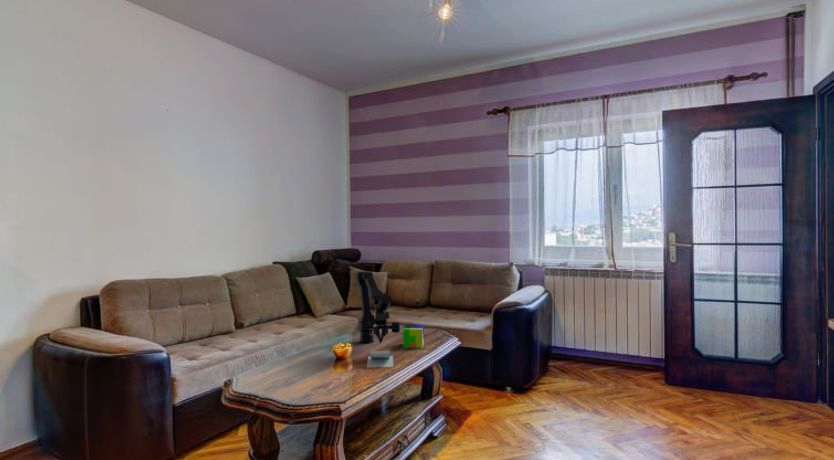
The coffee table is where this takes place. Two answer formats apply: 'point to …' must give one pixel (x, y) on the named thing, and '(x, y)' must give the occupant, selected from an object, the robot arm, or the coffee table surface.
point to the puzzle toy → (413, 336)
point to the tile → (379, 354)
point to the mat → (380, 362)
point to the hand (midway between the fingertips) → (380, 342)
